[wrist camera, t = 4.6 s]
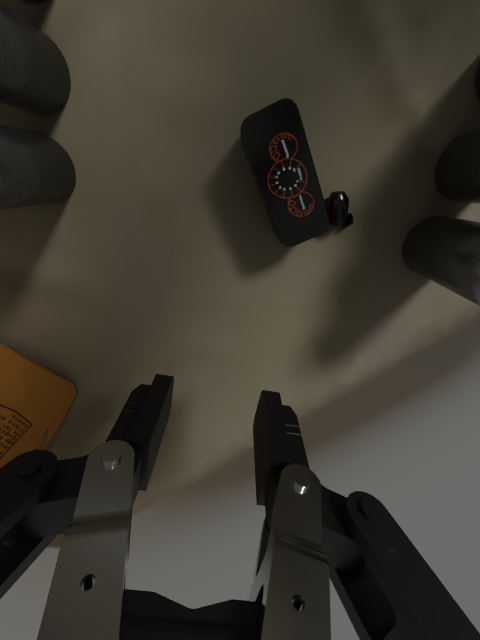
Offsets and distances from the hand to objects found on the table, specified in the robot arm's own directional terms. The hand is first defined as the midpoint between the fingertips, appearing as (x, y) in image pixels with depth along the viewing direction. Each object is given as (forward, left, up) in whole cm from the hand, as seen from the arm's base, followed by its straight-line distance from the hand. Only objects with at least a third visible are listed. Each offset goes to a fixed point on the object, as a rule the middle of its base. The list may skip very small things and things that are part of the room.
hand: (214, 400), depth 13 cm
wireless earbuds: (-9, +3, -10) cm, 13 cm away
